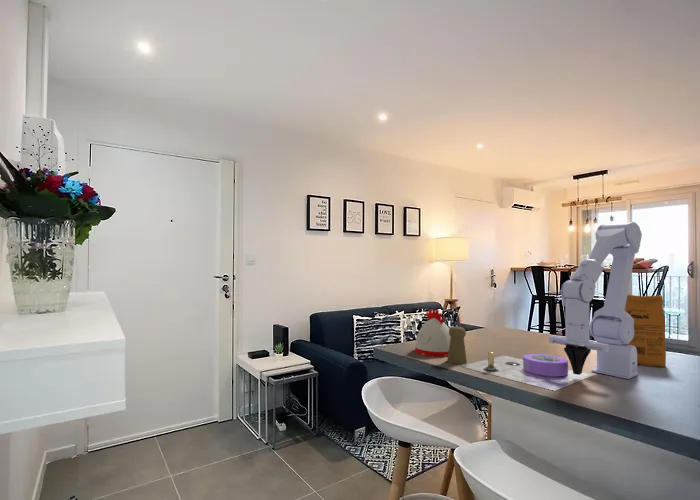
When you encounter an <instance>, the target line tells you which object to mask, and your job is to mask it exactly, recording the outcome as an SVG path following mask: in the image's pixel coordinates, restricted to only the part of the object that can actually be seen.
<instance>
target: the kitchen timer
mask: <svg viewBox="0 0 700 500" xmlns="http://www.w3.org/2000/svg"><path fill="white" fill-rule="evenodd" d="M425 315H426V317H427V321H425V322H424V324H423V325H422V326H421V327H420V329H419V331H418V332H417V336H416V339H415V340H416V341H415V345H414V347H415V349H414V351H415V353H416V354H418V355H422V356H427V357H428V356H429V357H436V358H442V357H445V358H446V357H447V358H448V352H449V345H450V338H451V337H450V335H449V329H450V327H449V326H448V325H447V324H446V323H445V319H446V317H445V316H443V317H442V313H441V312H440V313H439V309H435V308H432V309H430V308H429V309H428V311H426V312H425Z"/></svg>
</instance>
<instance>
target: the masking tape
mask: <svg viewBox="0 0 700 500" xmlns="http://www.w3.org/2000/svg"><path fill="white" fill-rule="evenodd" d="M522 358H523V359H522V360H523V369H524V370H525V371H527V372H530V373H533V374H538V375H544V376H566V375H568V369H569V361H568V360H569V359H567V358H564V357H561V356H556V355H551V354H542V353H529V354H525V355H523V356H522Z"/></svg>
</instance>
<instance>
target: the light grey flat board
mask: <svg viewBox="0 0 700 500" xmlns="http://www.w3.org/2000/svg"><path fill="white" fill-rule="evenodd" d="M459 367H461V368H465V369H468V370H472V371H477V372H481V373H483V374H488V375H491V376H495V377H499V378H502V379H507V380H510V381H513V382H514V381H515V382H519V383H521V382H522V384H525V383H526V385H530V386H534V387H537V388H541V389H544V388H545V390H548V389H549V390H548V391H552V390H553V392H556V391H559V390H561V389H564V388H565V387H566V388H567V387H569V386H571V385H573V384H576V383H579V382H580V381H583V380H585V379H588V378H591V377H594V374H591V373H587V372H583V371H582V374H580V375H577V374H573V370H572V369H569V368H568V375H566V376H544V375H538V374H533V373H530V372H527V371H525V370H524V369H523V359H522V358H517V357H512V356H507V355H500V356H496V357H495V356H494V367H495V368H496V371H488V370H486V367H488V358H487V359H483V360H479V361H475V362H471V363H466V364H461V365H459Z"/></svg>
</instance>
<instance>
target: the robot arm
mask: <svg viewBox="0 0 700 500" xmlns="http://www.w3.org/2000/svg"><path fill="white" fill-rule="evenodd" d="M642 235H643V234H642V231H641V228H640V226H639V224H638V223H636V222H635V221H630V222H624V223H622V222H621V223H620V222H619V223H610V224H609V223H607V224H605V223H604V224H603V223H602V224H600V225H598V227H597V229H596V231H595V240H596V242H595V244H594V246H593V248H592V250H591V252H590V255H589V256H588V258H587V259H584V260H582V261H581V262H580V263H579V265H578V267H577V268H576V270H575V272H574V273H573V274H572V277H571V278H570V279H568V280H566V281H565V282H563V284H561V289H560V295H561V298H562V303H563V306H564V307H565V309H564V310H565V336H560V335H559V336H557V335H549V336H548V343H549V344H557V345H563V346H565V347H564V348H563V351H564V352H565V354H566V356H567V357H568V360H569V362H570V366H571V370H573V374H577V375H580V374H582V372H583V368H584V366H585V362H586V360H587V359H588V357H589V355H590V353H591V352H592V350H593V351H596V367H594V368H592V369H591V370H590V371H591V372H593V373H598V374H602V375H603V374H604V375H607V376H612V377H617V378H621V379H628V380H630V379H631V378H634V377H636V376H638V375H639V373H638V364H637V349H636V347H635V346H632V345H628V344H629V342H630V341H631V340H632V339H633V337H634V319H633V318H632V317H631V316H630V315H629V314H628V313H627V312H626V311H625V306H626V301H627V295H629V289H630V284H631V278H632V273H633V267H634V261H635V257H636V254H637V253H639V252H640V247H641V241H642ZM609 255H611V256H612V263H611V267H610V273H609V279H608V283H607V288H606V294H605V298H604V299H605V300H604V304H603V306H602V307H601V308H599V309H598V310H596V311H594V313H593V317H592V318H591V320H590V302H592V300H593V299H594V298H595V295H596V287H597V285H596V283H597V281H598V280H599V278H600V277H601V275H602V273H603V272H604V271H603V270H604V269H603V268H604V267H603V266H602V264H603V263H604V262H605V260H606V259H607V257H608V256H609ZM620 320H622V321H620ZM590 335H591V337H593V340H594V341H593V340H590Z"/></svg>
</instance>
